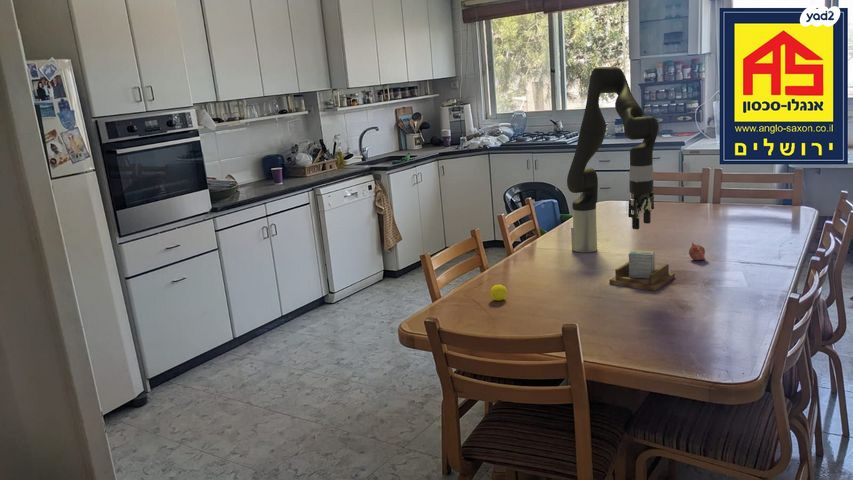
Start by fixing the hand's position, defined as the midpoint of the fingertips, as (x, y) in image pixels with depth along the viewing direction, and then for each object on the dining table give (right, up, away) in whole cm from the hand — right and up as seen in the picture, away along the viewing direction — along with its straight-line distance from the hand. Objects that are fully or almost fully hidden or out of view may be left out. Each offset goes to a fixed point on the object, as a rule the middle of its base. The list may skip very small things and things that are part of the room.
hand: (641, 226), depth 223 cm
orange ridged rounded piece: (+28, -12, +22) cm, 37 cm away
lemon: (-48, -25, -1) cm, 54 cm away
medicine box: (+2, -17, +4) cm, 18 cm away
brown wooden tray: (+2, -19, +5) cm, 19 cm away
